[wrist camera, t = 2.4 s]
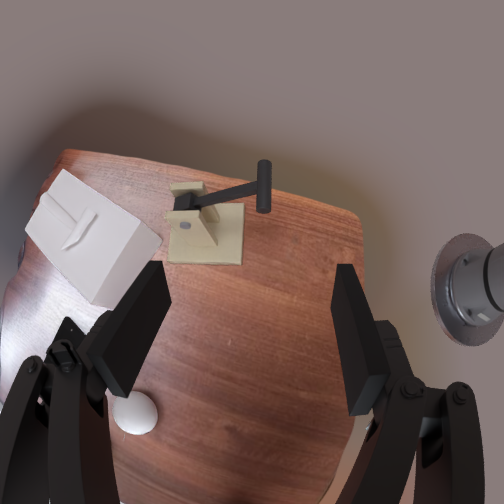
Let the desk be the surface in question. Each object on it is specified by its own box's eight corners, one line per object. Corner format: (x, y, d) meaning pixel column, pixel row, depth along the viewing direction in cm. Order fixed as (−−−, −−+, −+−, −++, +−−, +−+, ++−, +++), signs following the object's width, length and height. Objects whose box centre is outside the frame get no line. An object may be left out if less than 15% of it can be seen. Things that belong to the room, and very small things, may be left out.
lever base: (245, 206, 46) (234, 163, 34) (242, 265, 43) (228, 237, 31) (177, 208, 47) (148, 169, 35) (170, 263, 44) (134, 238, 32)
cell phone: (38, 380, 40) (36, 380, 39) (68, 315, 43) (65, 315, 42) (63, 410, 38) (60, 411, 37) (95, 345, 41) (92, 345, 40)
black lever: (275, 166, 31) (265, 155, 29) (275, 213, 29) (264, 204, 27) (189, 191, 37) (177, 184, 35) (183, 232, 36) (170, 226, 34)
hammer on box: (119, 310, 43) (81, 302, 32) (50, 243, 48) (17, 225, 38) (163, 240, 46) (134, 214, 35) (85, 188, 51) (56, 162, 41)
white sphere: (138, 378, 39) (115, 384, 32) (172, 407, 38) (154, 419, 31) (113, 416, 37) (90, 426, 30) (145, 444, 36) (125, 458, 29)
